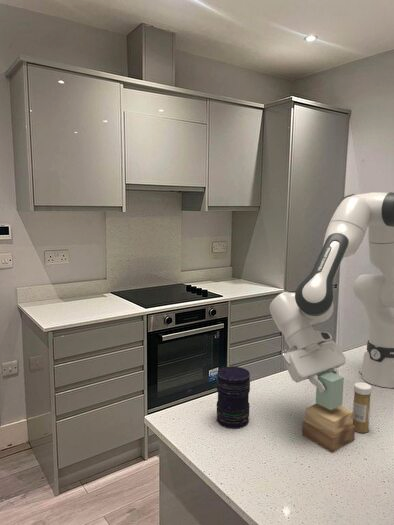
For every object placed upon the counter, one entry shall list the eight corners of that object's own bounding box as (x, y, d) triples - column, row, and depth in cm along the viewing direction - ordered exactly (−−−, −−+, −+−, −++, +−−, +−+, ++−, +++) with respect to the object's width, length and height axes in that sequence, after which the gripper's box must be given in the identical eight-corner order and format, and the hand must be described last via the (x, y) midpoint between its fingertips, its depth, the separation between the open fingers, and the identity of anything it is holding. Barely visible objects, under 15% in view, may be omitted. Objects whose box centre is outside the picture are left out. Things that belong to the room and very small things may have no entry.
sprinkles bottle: (372, 430, 116) (374, 386, 115) (362, 435, 114) (365, 390, 112) (358, 423, 120) (360, 380, 118) (348, 427, 118) (350, 384, 116)
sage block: (327, 397, 115) (328, 371, 114) (342, 404, 111) (343, 377, 110) (315, 402, 112) (316, 375, 111) (330, 410, 108) (332, 381, 107)
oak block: (324, 411, 119) (325, 399, 118) (352, 424, 112) (353, 411, 111) (305, 421, 113) (305, 408, 113) (333, 436, 106) (334, 422, 106)
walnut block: (324, 425, 120) (324, 411, 119) (354, 441, 112) (355, 425, 111) (301, 436, 114) (302, 421, 113) (331, 454, 106) (332, 438, 105)
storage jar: (253, 416, 124) (254, 369, 122) (243, 432, 115) (244, 382, 113) (223, 409, 128) (223, 364, 126) (211, 424, 120) (211, 376, 118)
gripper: (286, 345, 109) (313, 393, 103) (333, 332, 121) (361, 374, 114) (273, 356, 113) (299, 402, 107) (320, 342, 125) (346, 383, 119)
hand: (331, 387), depth 111 cm, fingers closed on sage block, 5 cm apart
